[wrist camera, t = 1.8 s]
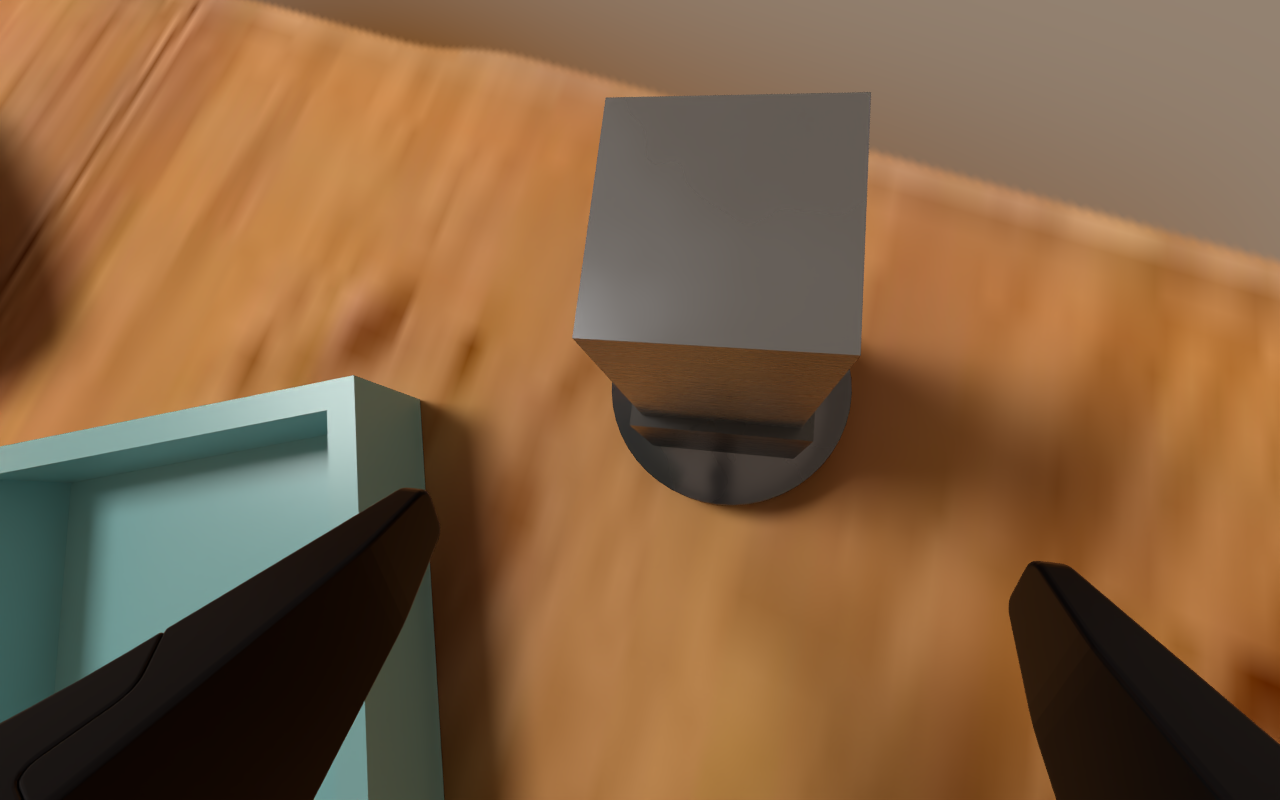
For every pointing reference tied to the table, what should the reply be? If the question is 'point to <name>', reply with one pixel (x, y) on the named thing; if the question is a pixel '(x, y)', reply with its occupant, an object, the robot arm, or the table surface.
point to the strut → (727, 263)
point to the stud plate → (737, 457)
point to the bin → (212, 548)
